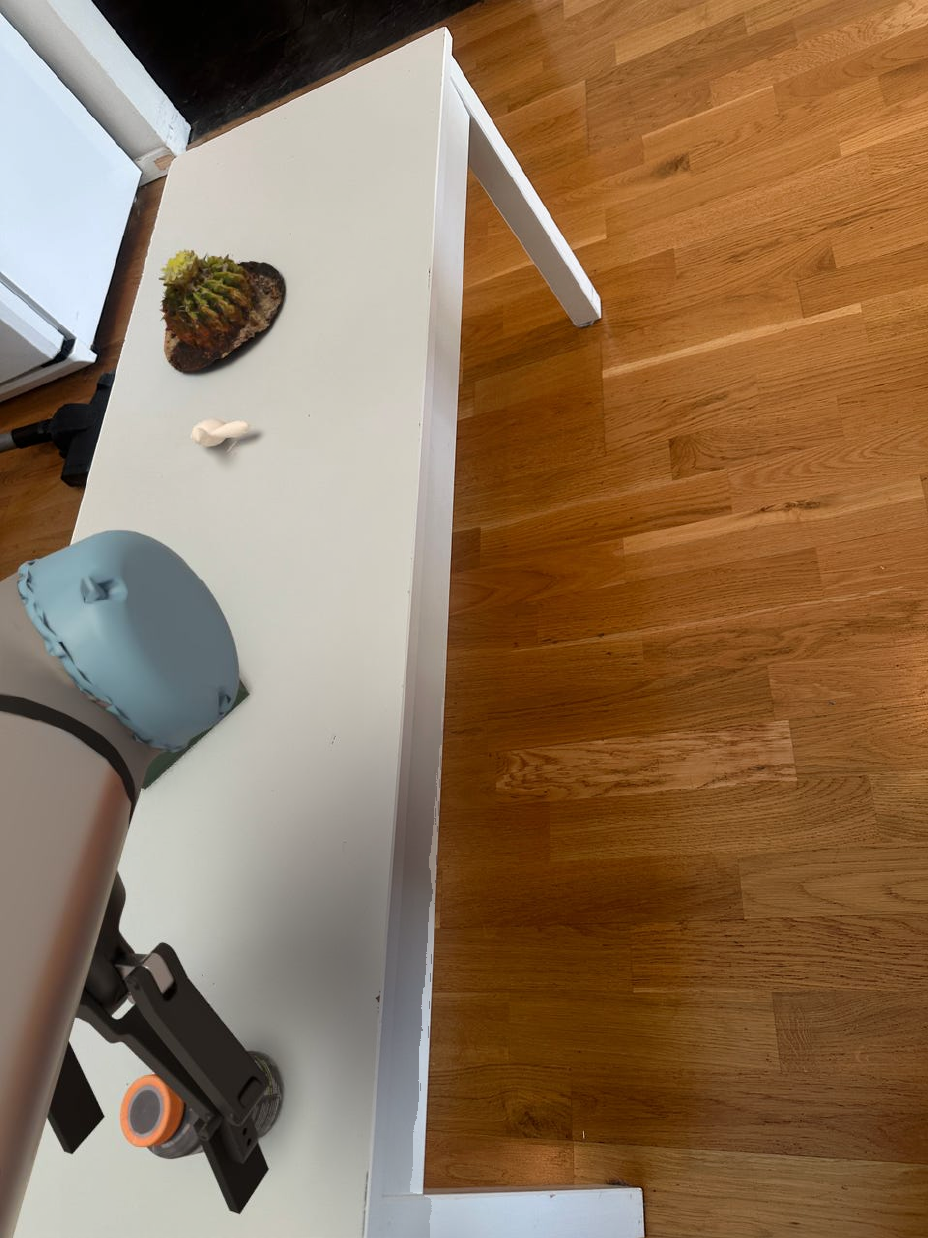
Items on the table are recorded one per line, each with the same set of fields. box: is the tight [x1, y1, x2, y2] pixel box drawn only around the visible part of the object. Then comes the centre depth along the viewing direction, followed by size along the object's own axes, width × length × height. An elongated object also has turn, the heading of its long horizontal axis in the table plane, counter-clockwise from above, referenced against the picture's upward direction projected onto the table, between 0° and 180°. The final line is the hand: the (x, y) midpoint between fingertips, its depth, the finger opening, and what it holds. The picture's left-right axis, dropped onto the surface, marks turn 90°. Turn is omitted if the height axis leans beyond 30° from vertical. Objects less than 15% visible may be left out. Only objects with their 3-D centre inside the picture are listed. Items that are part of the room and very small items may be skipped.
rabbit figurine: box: [189, 418, 251, 453], centre depth 91 cm, size 6×4×8 cm
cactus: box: [158, 248, 285, 373], centre depth 98 cm, size 17×16×10 cm
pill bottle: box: [119, 1050, 283, 1160], centre depth 58 cm, size 6×6×11 cm
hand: (162, 1161), depth 51 cm, fingers open, 13 cm apart
